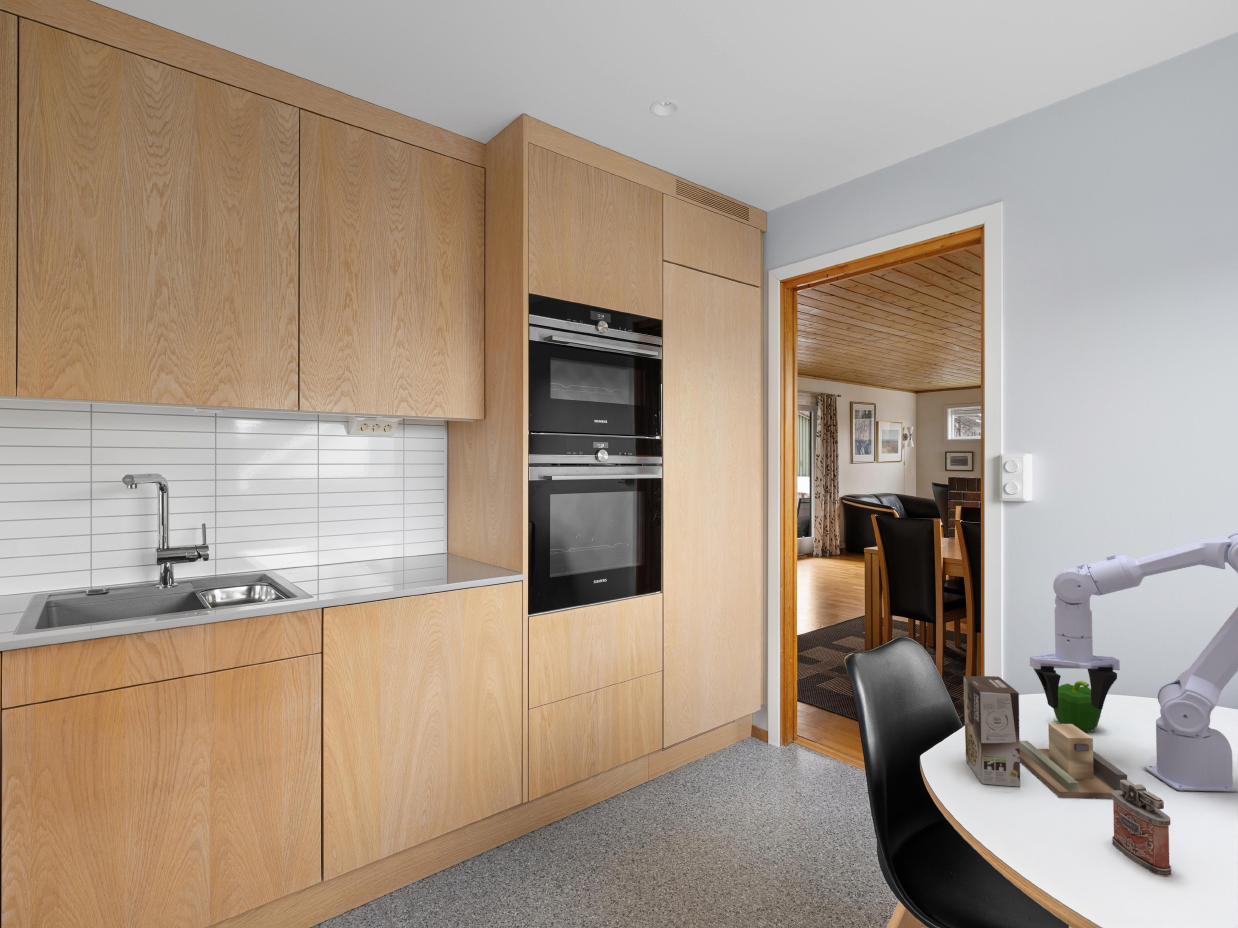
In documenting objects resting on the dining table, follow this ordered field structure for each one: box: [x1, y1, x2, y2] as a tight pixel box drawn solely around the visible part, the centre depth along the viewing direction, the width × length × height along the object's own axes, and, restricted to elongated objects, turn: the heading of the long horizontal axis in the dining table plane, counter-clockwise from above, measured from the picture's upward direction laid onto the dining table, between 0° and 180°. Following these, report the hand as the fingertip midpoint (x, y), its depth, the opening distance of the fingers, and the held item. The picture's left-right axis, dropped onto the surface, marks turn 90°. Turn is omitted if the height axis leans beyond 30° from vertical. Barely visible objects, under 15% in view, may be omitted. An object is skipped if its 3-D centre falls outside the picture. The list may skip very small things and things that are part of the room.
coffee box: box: [963, 675, 1021, 787], centre depth 116 cm, size 9×6×16 cm
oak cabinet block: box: [1047, 723, 1094, 779], centre depth 114 cm, size 4×7×7 cm, turn 174°
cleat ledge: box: [1020, 740, 1128, 800], centre depth 115 cm, size 12×16×4 cm
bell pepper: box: [1052, 680, 1103, 732], centre depth 134 cm, size 8×8×10 cm
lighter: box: [1111, 779, 1172, 877], centre depth 91 cm, size 8×3×10 cm, turn 5°
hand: (1074, 706), depth 121 cm, fingers open, 7 cm apart
